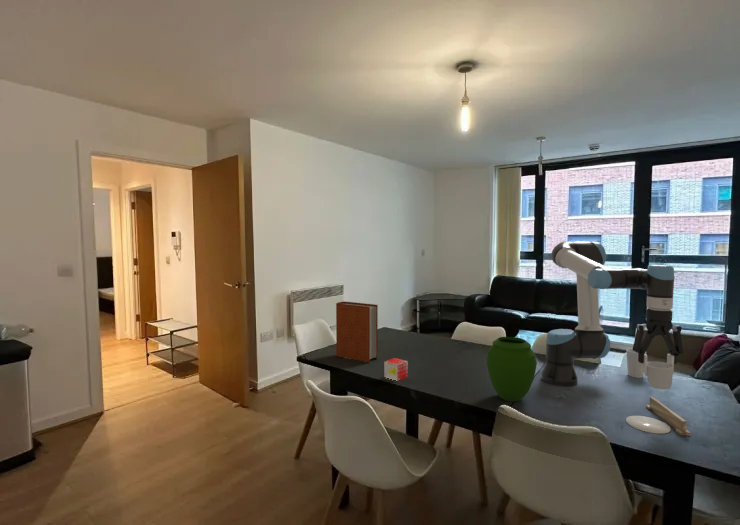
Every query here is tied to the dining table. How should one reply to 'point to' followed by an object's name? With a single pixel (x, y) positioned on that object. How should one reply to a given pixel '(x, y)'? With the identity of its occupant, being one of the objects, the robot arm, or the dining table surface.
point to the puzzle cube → (396, 369)
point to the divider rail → (668, 416)
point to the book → (357, 330)
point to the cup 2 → (659, 375)
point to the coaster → (648, 424)
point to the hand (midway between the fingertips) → (656, 372)
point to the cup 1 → (633, 364)
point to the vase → (511, 367)
